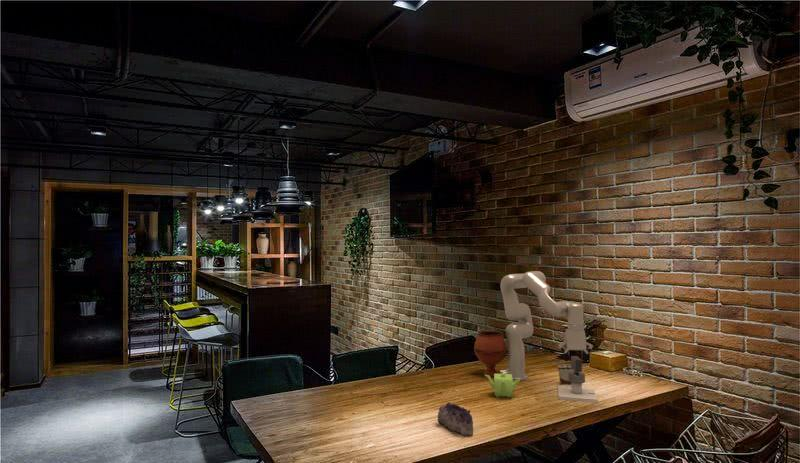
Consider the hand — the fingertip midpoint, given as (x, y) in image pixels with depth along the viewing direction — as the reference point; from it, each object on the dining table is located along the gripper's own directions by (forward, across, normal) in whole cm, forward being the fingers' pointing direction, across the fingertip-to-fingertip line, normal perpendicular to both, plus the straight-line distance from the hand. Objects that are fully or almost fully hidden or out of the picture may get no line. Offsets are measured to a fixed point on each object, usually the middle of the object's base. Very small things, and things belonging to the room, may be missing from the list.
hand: (575, 361), depth 236 cm
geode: (+18, +64, +44) cm, 79 cm away
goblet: (+19, +37, -37) cm, 56 cm away
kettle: (+18, +37, +2) cm, 42 cm away
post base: (+17, 0, +1) cm, 17 cm away
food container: (+18, -2, -20) cm, 27 cm away
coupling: (+10, 0, 0) cm, 10 cm away
